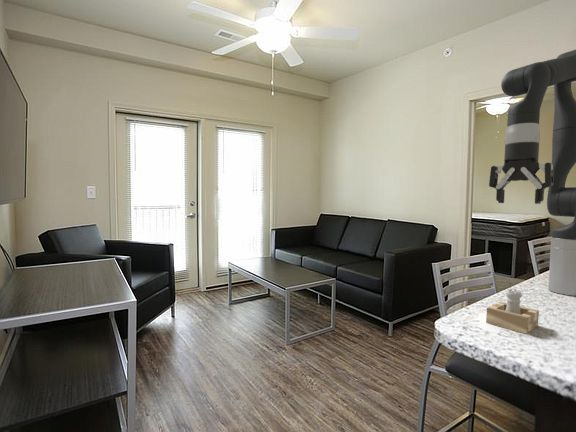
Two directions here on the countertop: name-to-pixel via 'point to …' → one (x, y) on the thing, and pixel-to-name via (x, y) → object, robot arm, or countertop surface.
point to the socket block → (512, 318)
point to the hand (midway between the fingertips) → (518, 203)
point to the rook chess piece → (513, 301)
